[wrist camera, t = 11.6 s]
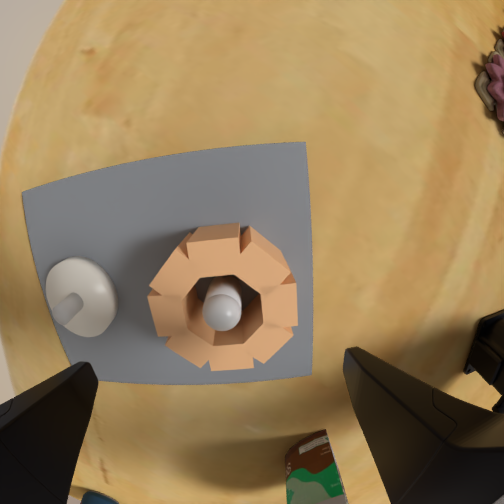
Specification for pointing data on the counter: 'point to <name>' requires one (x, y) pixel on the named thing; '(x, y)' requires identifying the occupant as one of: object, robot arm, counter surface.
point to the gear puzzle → (493, 81)
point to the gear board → (167, 255)
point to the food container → (313, 472)
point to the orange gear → (252, 317)
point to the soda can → (97, 498)
